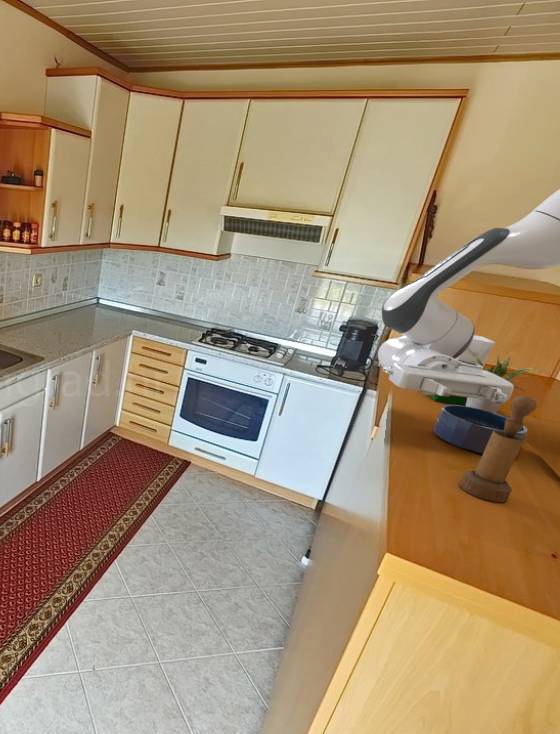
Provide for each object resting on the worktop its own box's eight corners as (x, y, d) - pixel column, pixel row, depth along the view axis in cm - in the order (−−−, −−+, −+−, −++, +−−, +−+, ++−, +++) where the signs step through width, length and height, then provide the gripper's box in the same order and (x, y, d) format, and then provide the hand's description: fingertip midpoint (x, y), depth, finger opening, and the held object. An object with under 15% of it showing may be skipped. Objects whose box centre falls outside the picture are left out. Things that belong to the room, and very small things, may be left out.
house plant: (528, 438, 112) (561, 371, 106) (455, 421, 117) (482, 357, 112) (506, 417, 124) (534, 356, 118) (440, 403, 129) (464, 344, 124)
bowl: (503, 440, 109) (514, 416, 107) (525, 466, 97) (538, 439, 95) (426, 423, 115) (436, 399, 112) (438, 445, 103) (449, 419, 101)
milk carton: (421, 391, 138) (447, 322, 131) (458, 398, 135) (488, 328, 129) (431, 401, 130) (460, 329, 123) (472, 409, 128) (504, 335, 121)
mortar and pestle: (454, 478, 89) (495, 386, 83) (498, 489, 86) (544, 395, 80) (464, 495, 83) (509, 398, 77) (512, 507, 81) (563, 408, 74)
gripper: (383, 352, 103) (420, 372, 90) (487, 365, 101) (541, 387, 88) (373, 380, 105) (408, 403, 92) (475, 393, 103) (526, 419, 90)
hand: (474, 396), depth 90 cm, fingers open, 8 cm apart
